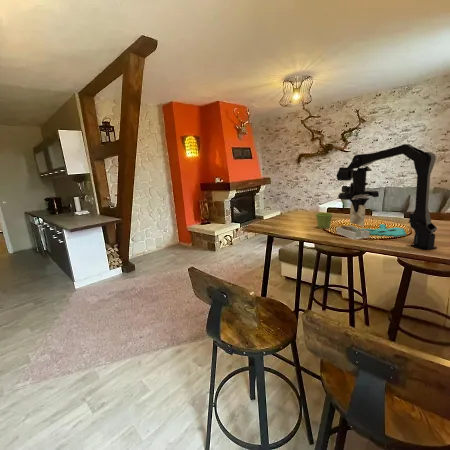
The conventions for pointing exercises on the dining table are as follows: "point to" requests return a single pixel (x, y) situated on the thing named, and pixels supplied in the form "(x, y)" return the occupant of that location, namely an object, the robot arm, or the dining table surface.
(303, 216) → the dining table surface
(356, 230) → the sage offcut
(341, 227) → the walnut offcut
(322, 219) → the plant pot
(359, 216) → the birch sheet
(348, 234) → the board rack
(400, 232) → the alien figure
